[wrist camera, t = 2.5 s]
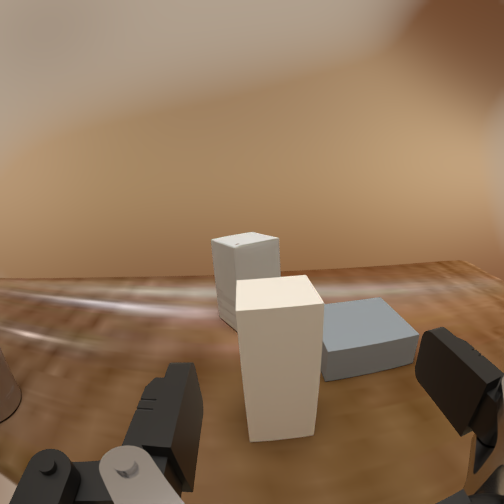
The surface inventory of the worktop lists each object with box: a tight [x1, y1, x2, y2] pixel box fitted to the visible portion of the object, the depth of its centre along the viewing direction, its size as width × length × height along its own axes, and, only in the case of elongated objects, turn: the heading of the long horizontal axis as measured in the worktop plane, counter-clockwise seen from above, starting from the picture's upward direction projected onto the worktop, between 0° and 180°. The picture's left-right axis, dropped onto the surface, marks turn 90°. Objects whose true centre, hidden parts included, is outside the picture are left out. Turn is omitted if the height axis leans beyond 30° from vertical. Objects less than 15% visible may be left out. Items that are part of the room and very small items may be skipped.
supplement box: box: [211, 232, 281, 332], centre depth 42 cm, size 7×7×13 cm
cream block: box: [236, 275, 324, 442], centre depth 22 cm, size 6×6×13 cm
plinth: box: [321, 297, 419, 382], centre depth 33 cm, size 11×11×4 cm
